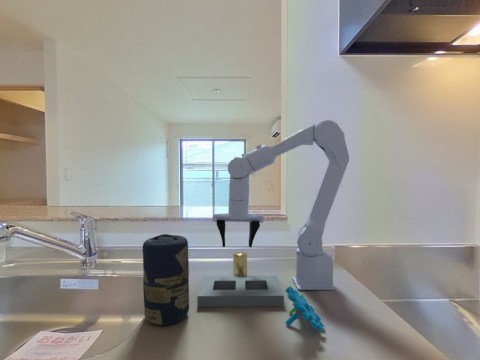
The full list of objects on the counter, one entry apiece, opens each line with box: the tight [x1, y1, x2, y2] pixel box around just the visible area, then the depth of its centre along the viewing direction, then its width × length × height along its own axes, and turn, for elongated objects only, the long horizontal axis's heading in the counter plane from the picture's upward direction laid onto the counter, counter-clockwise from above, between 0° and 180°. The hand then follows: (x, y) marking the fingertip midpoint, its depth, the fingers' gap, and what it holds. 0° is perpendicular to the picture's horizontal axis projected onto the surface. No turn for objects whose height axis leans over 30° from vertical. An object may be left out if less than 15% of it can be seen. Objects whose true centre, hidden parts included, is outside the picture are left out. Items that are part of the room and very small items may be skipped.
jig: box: [196, 275, 285, 308], centre depth 71 cm, size 20×12×2 cm, turn 90°
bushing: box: [232, 251, 248, 276], centre depth 82 cm, size 4×4×7 cm
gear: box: [284, 285, 325, 333], centre depth 57 cm, size 11×6×10 cm
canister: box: [142, 233, 190, 326], centre depth 60 cm, size 10×10×18 cm
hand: (237, 246), depth 81 cm, fingers open, 7 cm apart
